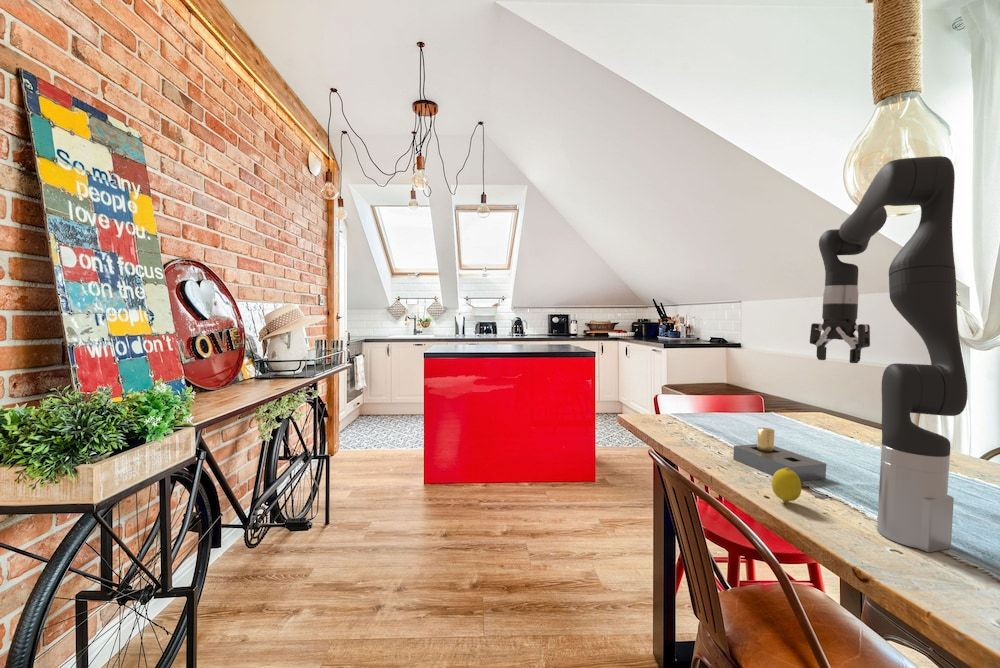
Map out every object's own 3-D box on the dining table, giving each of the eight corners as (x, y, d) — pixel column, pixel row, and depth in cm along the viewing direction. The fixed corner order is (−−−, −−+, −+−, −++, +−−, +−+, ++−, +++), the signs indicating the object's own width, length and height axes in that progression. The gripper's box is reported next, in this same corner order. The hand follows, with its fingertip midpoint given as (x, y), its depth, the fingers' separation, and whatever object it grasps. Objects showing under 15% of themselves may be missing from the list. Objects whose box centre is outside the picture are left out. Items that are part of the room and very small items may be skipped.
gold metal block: (776, 465, 120) (778, 430, 119) (765, 466, 119) (766, 431, 118) (764, 460, 124) (765, 427, 123) (753, 461, 123) (754, 427, 122)
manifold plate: (733, 459, 125) (733, 445, 124) (765, 456, 128) (766, 443, 128) (789, 482, 107) (790, 467, 107) (825, 478, 111) (826, 463, 110)
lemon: (791, 498, 98) (792, 464, 98) (806, 508, 92) (807, 472, 92) (766, 496, 98) (767, 462, 98) (779, 507, 93) (781, 471, 93)
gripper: (879, 302, 110) (876, 364, 111) (824, 303, 124) (821, 358, 124) (858, 301, 108) (855, 364, 109) (804, 303, 122) (802, 359, 122)
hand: (837, 361), depth 117 cm, fingers open, 8 cm apart
